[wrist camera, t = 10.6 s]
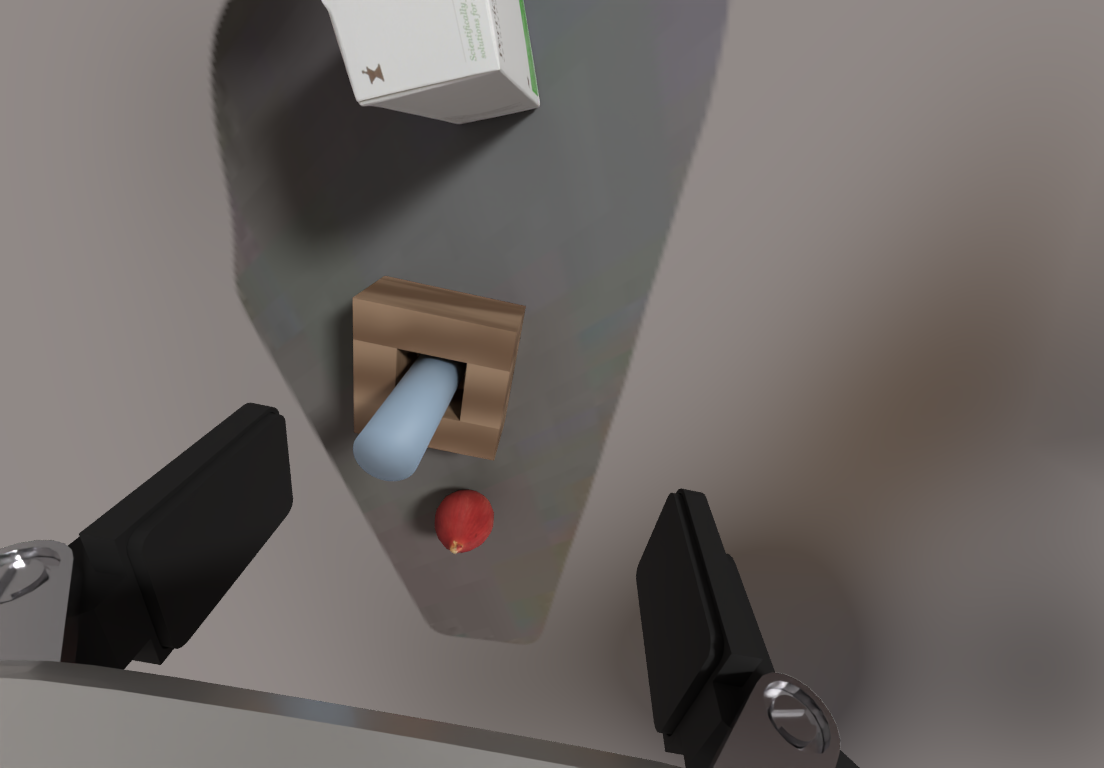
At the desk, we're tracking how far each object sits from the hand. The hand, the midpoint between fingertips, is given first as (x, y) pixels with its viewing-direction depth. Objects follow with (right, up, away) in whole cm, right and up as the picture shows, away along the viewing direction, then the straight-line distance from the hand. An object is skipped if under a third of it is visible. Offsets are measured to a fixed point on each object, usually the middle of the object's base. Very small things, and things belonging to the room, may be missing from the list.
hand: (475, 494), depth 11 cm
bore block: (-7, +5, +30) cm, 31 cm away
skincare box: (-3, +25, +19) cm, 32 cm away
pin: (-7, +5, +29) cm, 30 cm away
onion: (-7, -9, +38) cm, 39 cm away
